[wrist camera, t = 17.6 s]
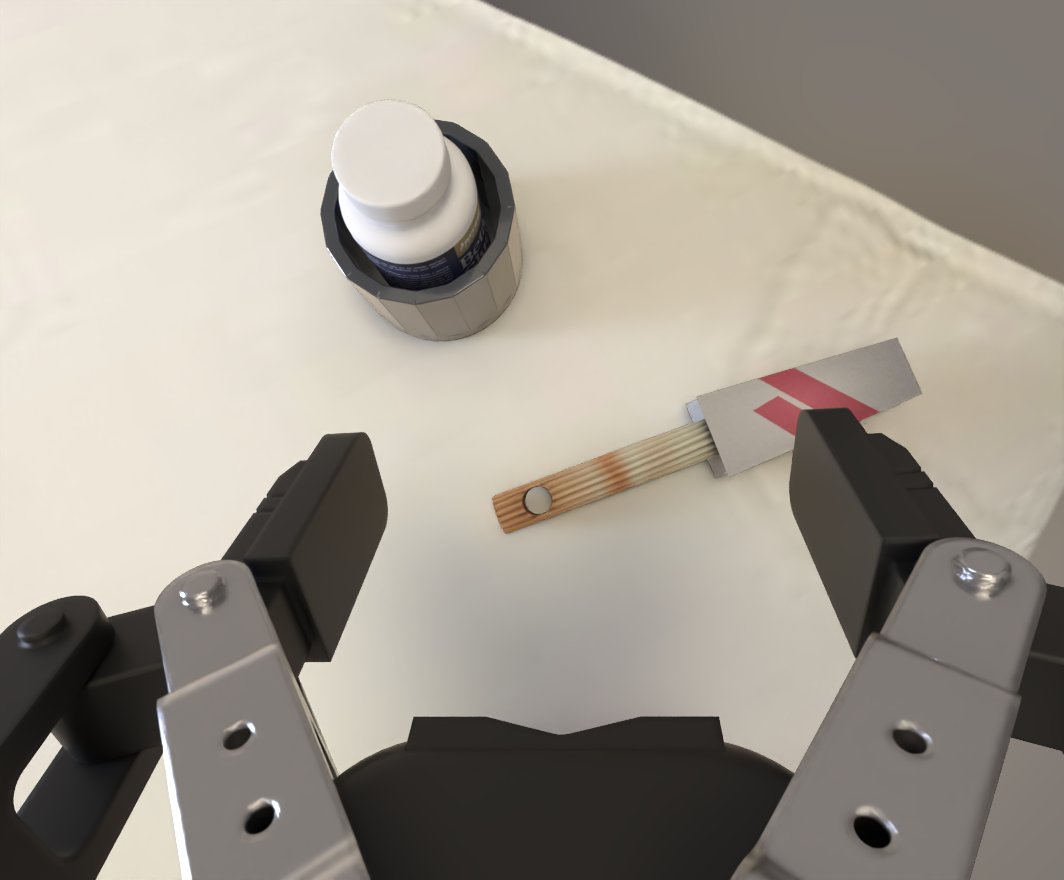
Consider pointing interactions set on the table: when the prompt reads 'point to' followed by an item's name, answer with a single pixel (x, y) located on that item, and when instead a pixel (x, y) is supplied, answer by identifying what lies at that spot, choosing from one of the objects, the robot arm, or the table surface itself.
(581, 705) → the table surface
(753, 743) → the table surface
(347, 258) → the holder
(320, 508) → the robot arm
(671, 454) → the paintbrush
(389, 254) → the pill bottle
